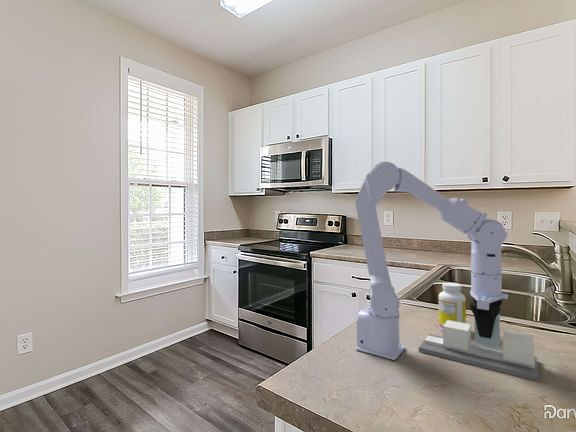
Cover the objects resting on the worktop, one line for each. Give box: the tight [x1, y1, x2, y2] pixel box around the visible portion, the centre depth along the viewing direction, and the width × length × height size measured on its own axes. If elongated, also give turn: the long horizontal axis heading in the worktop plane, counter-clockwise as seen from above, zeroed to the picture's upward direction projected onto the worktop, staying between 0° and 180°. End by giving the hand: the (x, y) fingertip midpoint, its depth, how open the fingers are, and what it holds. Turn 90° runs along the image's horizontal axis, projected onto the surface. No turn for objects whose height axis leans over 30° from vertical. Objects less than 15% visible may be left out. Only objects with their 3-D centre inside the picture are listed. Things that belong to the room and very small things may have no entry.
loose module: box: [474, 314, 501, 349], centre depth 69 cm, size 4×4×6 cm
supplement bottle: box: [438, 282, 467, 332], centre depth 86 cm, size 7×7×13 cm
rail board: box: [418, 320, 540, 383], centre depth 70 cm, size 22×10×6 cm, turn 53°
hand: (486, 333), depth 69 cm, fingers closed on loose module, 4 cm apart
